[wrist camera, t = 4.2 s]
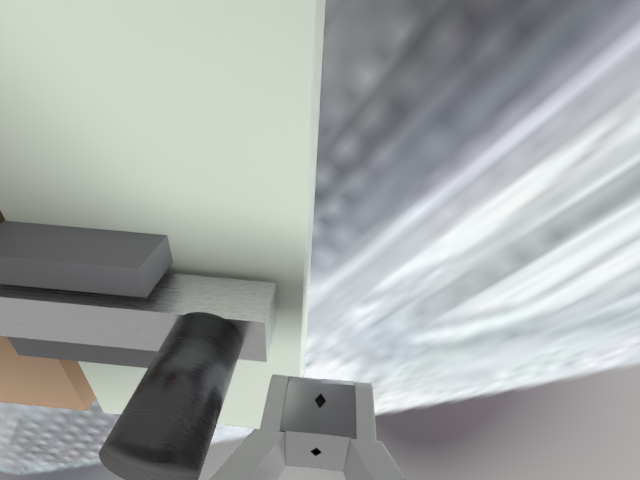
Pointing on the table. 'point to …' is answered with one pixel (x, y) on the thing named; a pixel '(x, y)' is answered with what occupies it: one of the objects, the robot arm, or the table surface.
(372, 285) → the table surface
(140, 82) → the door and jamb
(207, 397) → the bolt
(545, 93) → the table surface
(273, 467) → the robot arm
